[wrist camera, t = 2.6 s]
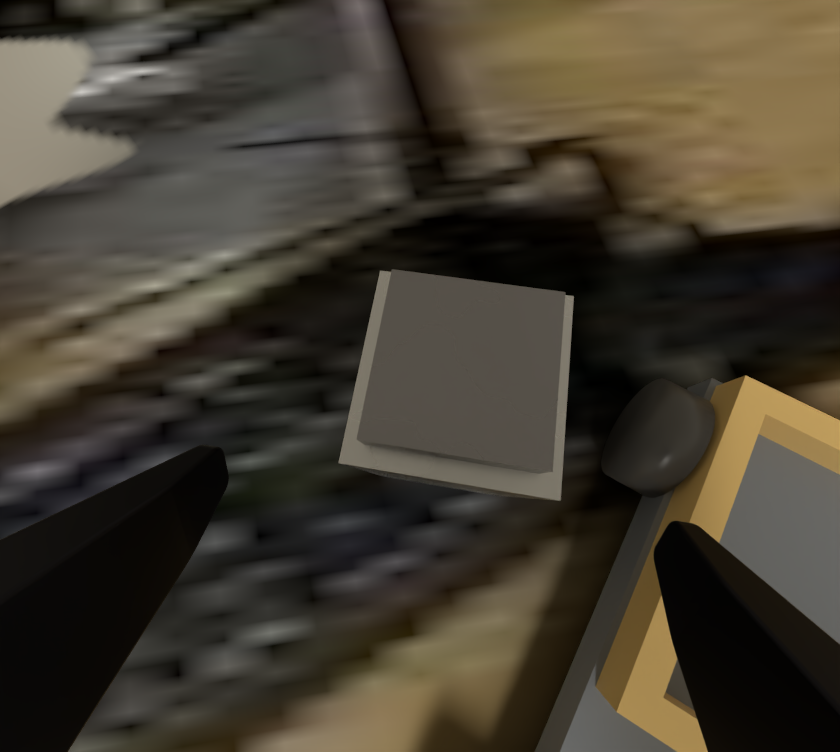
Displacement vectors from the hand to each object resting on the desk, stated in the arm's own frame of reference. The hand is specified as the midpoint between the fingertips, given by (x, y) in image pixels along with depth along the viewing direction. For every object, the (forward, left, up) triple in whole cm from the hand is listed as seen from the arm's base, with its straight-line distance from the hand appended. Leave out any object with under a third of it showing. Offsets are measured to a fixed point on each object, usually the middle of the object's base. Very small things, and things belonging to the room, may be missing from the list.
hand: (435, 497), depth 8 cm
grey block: (+3, +1, -10) cm, 10 cm away
